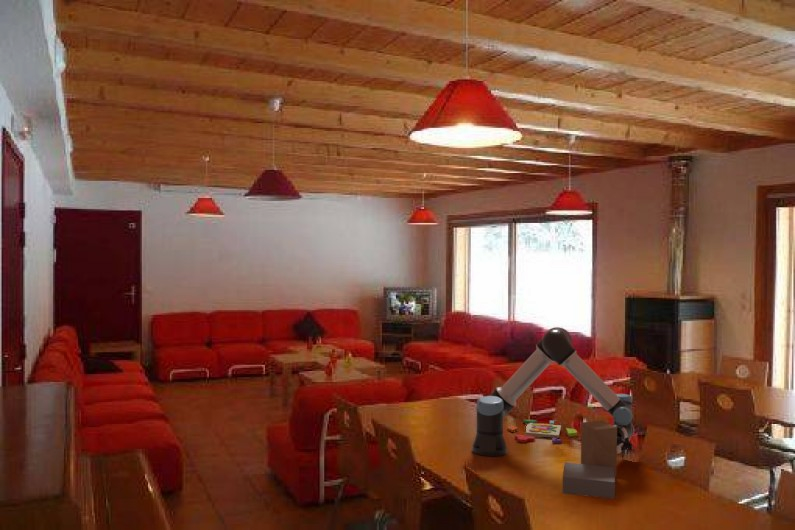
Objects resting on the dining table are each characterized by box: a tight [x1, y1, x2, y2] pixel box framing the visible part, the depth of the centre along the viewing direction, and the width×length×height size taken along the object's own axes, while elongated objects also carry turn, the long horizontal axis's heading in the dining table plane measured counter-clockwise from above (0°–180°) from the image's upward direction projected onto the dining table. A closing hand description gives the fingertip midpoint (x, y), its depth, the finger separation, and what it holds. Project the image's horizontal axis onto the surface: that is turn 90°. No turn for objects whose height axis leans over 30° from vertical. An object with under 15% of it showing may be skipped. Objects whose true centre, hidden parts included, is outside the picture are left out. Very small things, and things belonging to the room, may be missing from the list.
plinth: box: [562, 461, 616, 499], centre depth 240 cm, size 18×18×6 cm
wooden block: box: [580, 420, 618, 478], centre depth 253 cm, size 10×10×20 cm
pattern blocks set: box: [506, 419, 578, 444], centre depth 317 cm, size 38×34×3 cm
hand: (599, 447), depth 253 cm, fingers closed on wooden block, 13 cm apart
